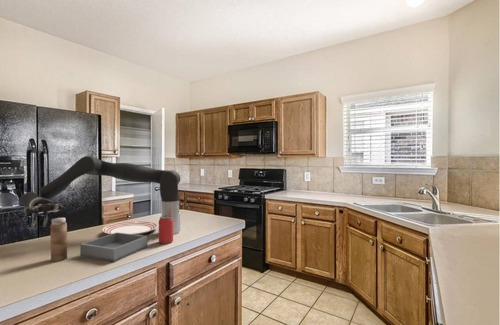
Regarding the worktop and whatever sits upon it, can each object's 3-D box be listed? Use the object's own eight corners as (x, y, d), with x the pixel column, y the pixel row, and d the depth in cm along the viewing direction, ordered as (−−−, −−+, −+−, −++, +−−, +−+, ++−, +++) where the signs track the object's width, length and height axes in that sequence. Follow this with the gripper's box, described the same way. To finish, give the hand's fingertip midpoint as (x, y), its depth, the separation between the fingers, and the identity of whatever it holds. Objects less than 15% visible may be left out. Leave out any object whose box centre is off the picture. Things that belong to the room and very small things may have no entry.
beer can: (174, 239, 127) (174, 215, 127) (171, 244, 120) (171, 218, 120) (161, 240, 127) (161, 215, 127) (156, 244, 120) (156, 218, 120)
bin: (116, 242, 122) (116, 232, 122) (147, 247, 116) (147, 236, 116) (80, 256, 105) (80, 244, 105) (114, 262, 99) (113, 249, 99)
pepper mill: (61, 256, 106) (60, 217, 106) (70, 257, 104) (69, 218, 104) (47, 260, 101) (47, 219, 101) (56, 262, 99) (56, 220, 99)
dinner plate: (166, 226, 153) (166, 220, 153) (142, 241, 126) (142, 234, 126) (122, 225, 156) (122, 219, 156) (89, 239, 129) (89, 232, 129)
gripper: (20, 199, 114) (28, 204, 104) (59, 196, 125) (70, 200, 115) (20, 216, 114) (28, 222, 104) (59, 211, 125) (70, 216, 115)
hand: (50, 210), depth 109 cm, fingers open, 8 cm apart
